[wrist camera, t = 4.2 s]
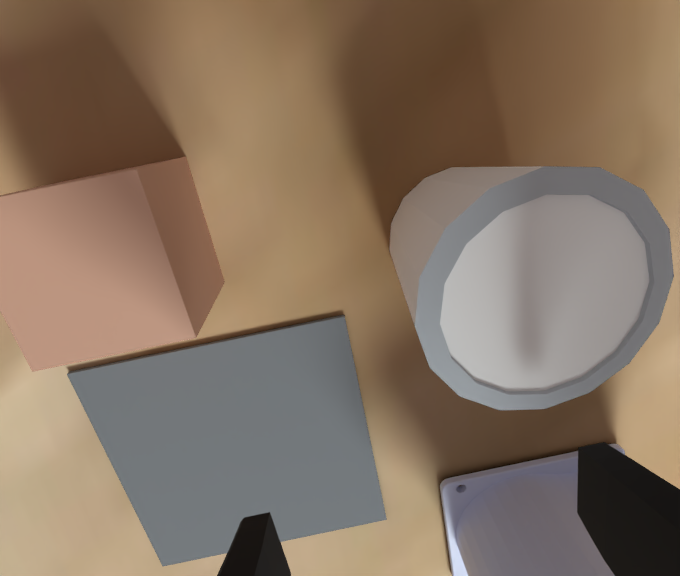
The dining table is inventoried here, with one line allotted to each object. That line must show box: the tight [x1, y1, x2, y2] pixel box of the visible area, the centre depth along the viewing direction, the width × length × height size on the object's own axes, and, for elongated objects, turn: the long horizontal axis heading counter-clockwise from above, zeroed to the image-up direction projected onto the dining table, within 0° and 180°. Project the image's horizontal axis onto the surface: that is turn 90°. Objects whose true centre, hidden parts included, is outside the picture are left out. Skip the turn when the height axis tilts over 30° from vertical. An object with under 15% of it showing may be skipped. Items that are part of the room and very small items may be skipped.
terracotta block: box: [0, 157, 224, 372], centre depth 14 cm, size 5×5×5 cm
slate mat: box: [67, 315, 387, 566], centre depth 20 cm, size 12×12×1 cm
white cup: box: [389, 166, 674, 410], centre depth 14 cm, size 7×7×7 cm
